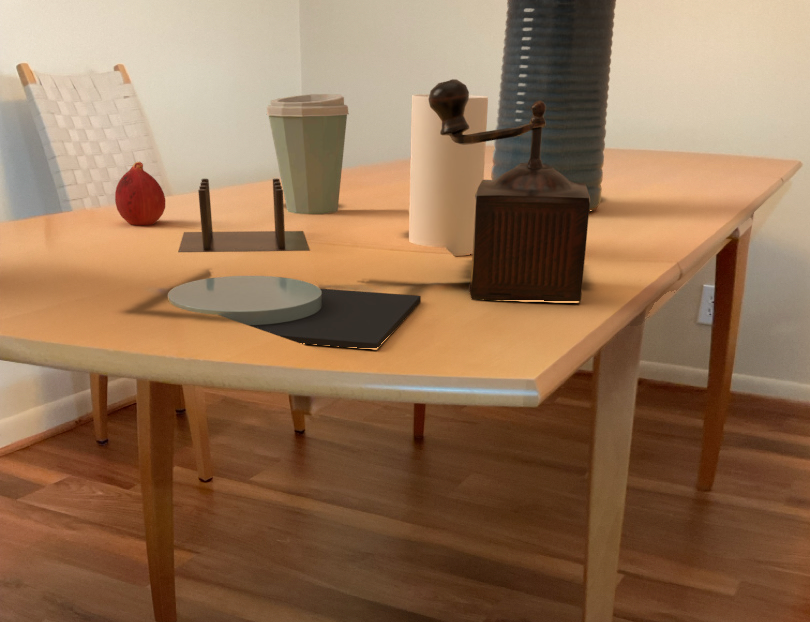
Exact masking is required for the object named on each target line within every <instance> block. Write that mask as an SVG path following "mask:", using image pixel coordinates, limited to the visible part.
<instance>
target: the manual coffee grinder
mask: <svg viewBox="0 0 810 622" xmlns="http://www.w3.org/2000/svg"><path fill="white" fill-rule="evenodd" d="M429 94H430V95H429V99H428V100H429V104H430V107H431V108H432V109H433V110H434V111H435V112H436V113H437V115H438V116H439V118H440V119H441V121H442V129H441V131H440V134H441V135H448V136H450V137H451V139H452V140H453V141H454V142H455V143H458V144H461V145H467V144H475V143H480V142H486V143H487V142H492V141H494V140H498V139H504V138H510V137H516V136H520V135H522V134H524V133H526V132H528V131H530V130H532V138H531V153H530V159H529V161H528V163H520V164H519V165H518V166H516V167H515V168H513V169H512V170H509V171H508V172H506V173H504V174H502V175H501V176H500V177H499V178H498V179H497V180H492V179H484V180H482V181H481V183H480V185H479V187H478V190H477V192H476V194H475V199H476V207H475V222H474V238H473V254H471V255H472V256H471V270H470V280H469V281H470V282H469V284H468V285H469V286H468V292H470V293H469V295H471V296H470V299H471V298H472V299H471V300H474V299H484V300H544V301H580V302H581V300H582V297H583V293H582V292H583V291H582V286H583V278H584V269H585V262H586V261H585V260H586V258H585V257H586V250H587V249H586V248H587V239H588V229H589V217H590V212H589V206H590V196H589V193H588V190H587V187H586V185H585V183H574V182H571V181H569V180H568V179H567V178H566V177H564V176H563V175H562V174H561V173H560V172H558V171H556V170H555V169H554V168H553V167H551V166H550V165H547V164H542V161H541V159H540V151H541V137H542V128H543V127H544V126H546V121H545V119H544V117H543V115H544V113H545V110H546V105H545V104H544V102H542V101H537V102H534V104H533V106H532V107H531V109H532V114H533V117H532V118H531V119H530V123H529V124H525V125H521V126H518V127H515V128H506V129H499V130H495V129H493V130H486V132H480V133H475V134H467V135H463V132H465V131H466V130H468V129H469V125H468V124H467V122H466V120H465V118H464V111H465V106H466V104H467V102H468V99H469V95H470V91H469V89H468V86H467V85H466V84H465V83H463V82H462V81H460V80H459V79H456V78H455V79H454V78H452V79H449V80H445V81H442V82H438V83H437V84H436V85H435V86H434V87H433V88H432V89H431V90H430V92H429Z"/></svg>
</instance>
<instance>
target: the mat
mask: <svg viewBox="0 0 810 622" xmlns="http://www.w3.org/2000/svg"><path fill="white" fill-rule="evenodd" d="M319 288H320V287H319ZM320 290H321V291H322V307H321V309H320V310H319V311H318V312H317V313H315V314H313V315H311V316H308V317H305V318H302V319H299V320H295V321H290V322H284V323H278V324H269V325H256V326H250V327H251V328H254V329H258V330H260V331H263V332H266V333H267V334H268V333H269V334H272V335H275V336H277V337H280V338H283V339H285V340H289V341H292V342H294V343H297V344H300V343H302V344H301V345H303V343H305V344H317V345H330V346H339V347H357V348H377V347H379V346H380V345H381V343H382V342H383V341H384V340H385V339H386V338H387V337H388V336H389V335H390V334H391V333H392V332H393V331H394V330H395V329H396V328H397V327H398V326H399V327H400V325H402V324H403V322H404V321H406V319H407V318H408V317H409V316H410V314H412V312H413V311H414V310H415V309H416V308H417V307H418V305H420V304H421V300H422V299H421V298H422V296H421V295H418V294H417V295H415V294H403V293H388V292H375V291H363V290H362V291H361V290H346V289H333V288H320ZM415 307H416V308H415ZM407 316H408V317H407ZM406 317H407V318H406ZM405 318H406V319H405ZM403 320H404V321H403ZM399 327H398V328H399ZM398 328H397V329H398ZM397 329H396V330H397ZM396 330H395V331H396ZM395 331H394V332H395ZM394 332H393V333H394ZM393 333H392V334H393ZM392 334H391V335H392Z"/></svg>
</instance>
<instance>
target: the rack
mask: <svg viewBox="0 0 810 622" xmlns="http://www.w3.org/2000/svg"><path fill="white" fill-rule="evenodd" d="M210 192H211V191H210V181H209V178H201V179H200V185H199V188H198V202H199V214H200V225H201V226H200V227H201V231H183V233H182V237H181V241H180V244H179V247H178V251H177V252H178V253H228V252H229V253H233V252H234V253H238V252H239V253H240V252H241V253H242V252H243V253H245V252H246V253H247V252H249V253H250V252H310V251H311V249H310V247H309V244H308V240H307V237H306V235H305V232H304V230H286V229H285V208H284V207H285V205H284V192H283V187H282V182H281V178H272V195H273V197H272V198H273V216H274V231H273V230H263V231H262V230H261V231H259V230H258V231H255V230H254V231H253V230H252V231H251V230H250V231H249V230H247V231H213V222H212V221H213V220H212V206H211V205H212V204H211V193H210Z"/></svg>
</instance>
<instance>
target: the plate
mask: <svg viewBox="0 0 810 622" xmlns="http://www.w3.org/2000/svg"><path fill="white" fill-rule="evenodd" d="M167 301H168V303H169V304H171V305H172V306H173V307H175V308H178V309H180V310H185V311H187V312H193V313H197V314H205V315H212V316H213V315H214V316H220V317H223V318H226V319H228V320H231V321H234V322H237V323H240V324H243V325H246V326H249V327H251V326H256V325H269V324H278V323H284V322H290V321H295V320H299V319H302V318H305V317H308V316H311V315H313V314H315V313H317V312H318V311H319V310H320V309H321V307H322V291H321V290H320V287H319V286H318V285H315V284H314V283H311V282H308V281H305V280H301V279H296V278H292V277H291V278H290V277H282V276H272V275H229V276H227V275H226V276H216V277H209V278H201V279H197V280H192V281H188V282H185V283H182V284H179V285H176V286H174V287H173V288H171V289H170V290H169V291H168V293H167Z"/></svg>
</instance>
